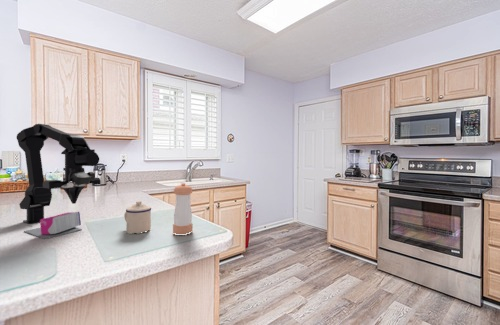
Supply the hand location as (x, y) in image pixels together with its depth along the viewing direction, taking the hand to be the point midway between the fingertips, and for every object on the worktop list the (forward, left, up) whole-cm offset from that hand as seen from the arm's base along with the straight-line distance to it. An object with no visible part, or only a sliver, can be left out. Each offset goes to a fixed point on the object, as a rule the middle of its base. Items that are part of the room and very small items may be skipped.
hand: (73, 203), depth 97 cm
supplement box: (+1, 0, -6) cm, 6 cm away
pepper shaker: (+44, +16, -10) cm, 48 cm away
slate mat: (0, -7, -10) cm, 12 cm away
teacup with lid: (+26, +9, -10) cm, 29 cm away
